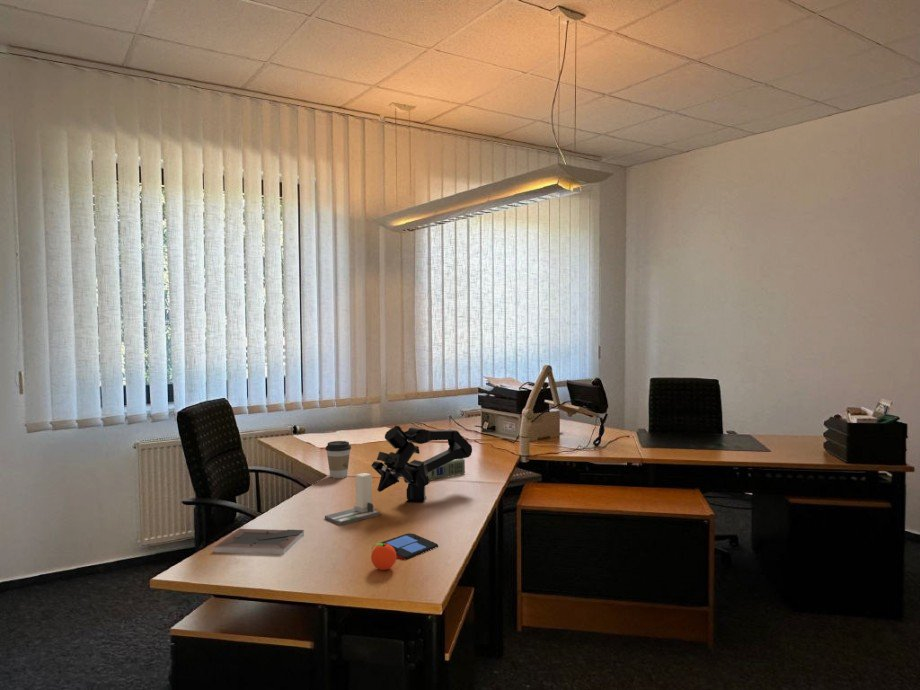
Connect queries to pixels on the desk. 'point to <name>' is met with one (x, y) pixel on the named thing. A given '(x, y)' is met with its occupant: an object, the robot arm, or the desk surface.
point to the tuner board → (349, 516)
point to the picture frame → (259, 541)
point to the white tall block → (364, 493)
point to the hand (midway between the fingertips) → (378, 491)
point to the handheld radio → (448, 469)
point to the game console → (410, 545)
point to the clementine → (383, 556)
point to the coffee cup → (338, 458)
